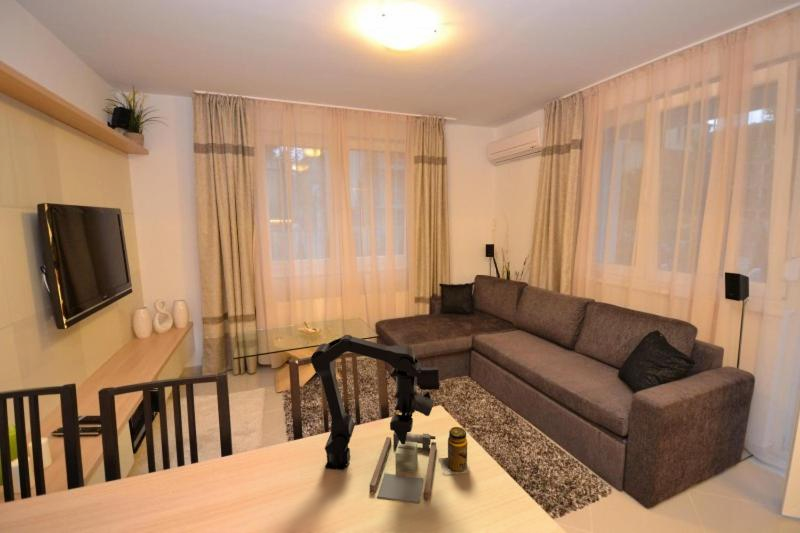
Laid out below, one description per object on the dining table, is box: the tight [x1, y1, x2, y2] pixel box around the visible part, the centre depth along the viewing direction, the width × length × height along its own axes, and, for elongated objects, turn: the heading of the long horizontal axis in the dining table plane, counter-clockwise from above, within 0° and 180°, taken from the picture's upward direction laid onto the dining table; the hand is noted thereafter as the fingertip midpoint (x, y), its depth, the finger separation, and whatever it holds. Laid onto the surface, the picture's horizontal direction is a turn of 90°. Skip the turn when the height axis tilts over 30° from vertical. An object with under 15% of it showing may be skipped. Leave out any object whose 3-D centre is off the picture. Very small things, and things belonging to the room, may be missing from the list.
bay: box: [369, 431, 437, 501], centre depth 113 cm, size 17×24×5 cm
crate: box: [395, 441, 418, 473], centre depth 114 cm, size 6×6×6 cm
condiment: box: [438, 426, 472, 476], centre depth 112 cm, size 7×8×12 cm
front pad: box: [376, 472, 424, 504], centre depth 104 cm, size 12×9×1 cm
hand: (406, 434), depth 112 cm, fingers open, 9 cm apart
